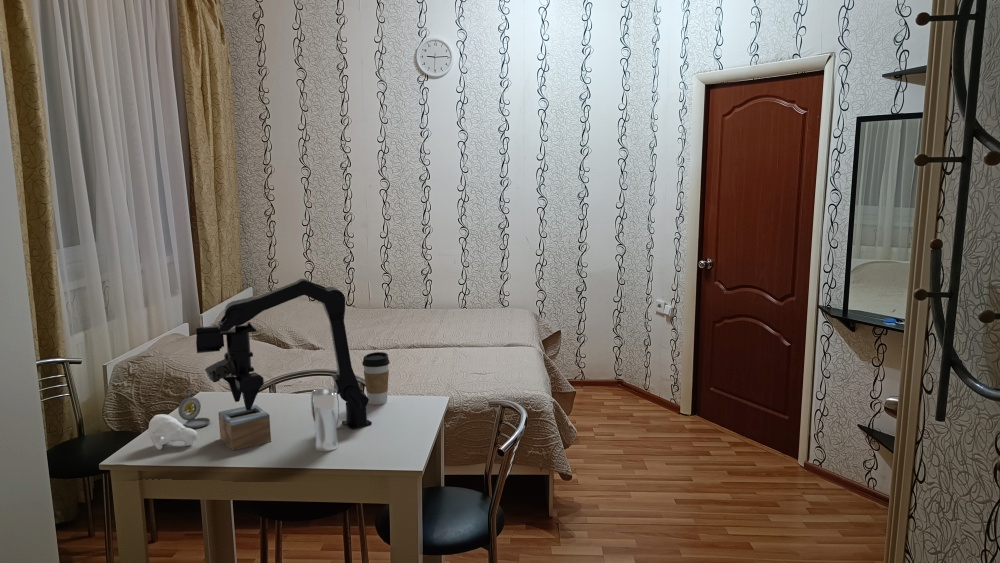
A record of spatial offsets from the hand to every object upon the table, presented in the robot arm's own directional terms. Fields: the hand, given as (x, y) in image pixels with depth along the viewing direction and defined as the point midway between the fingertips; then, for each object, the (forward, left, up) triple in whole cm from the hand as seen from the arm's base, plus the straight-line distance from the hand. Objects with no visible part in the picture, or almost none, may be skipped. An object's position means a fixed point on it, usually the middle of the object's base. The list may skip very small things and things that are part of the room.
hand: (242, 405), depth 195 cm
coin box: (0, 0, -10) cm, 10 cm away
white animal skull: (+8, +16, -10) cm, 20 cm away
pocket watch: (+22, +7, -10) cm, 25 cm away
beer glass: (-19, -15, -10) cm, 26 cm away
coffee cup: (+6, -43, -10) cm, 45 cm away
